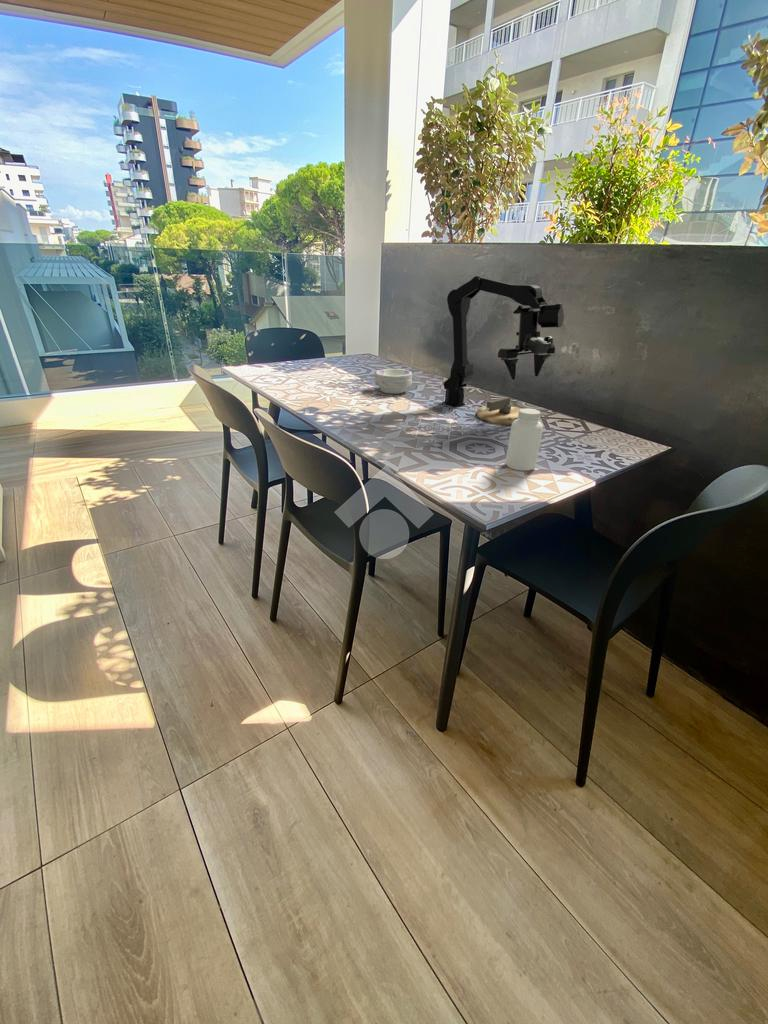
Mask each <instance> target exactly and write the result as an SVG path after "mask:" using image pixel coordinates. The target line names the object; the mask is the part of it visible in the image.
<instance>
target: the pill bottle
mask: <svg viewBox="0 0 768 1024" xmlns="http://www.w3.org/2000/svg"><path fill="white" fill-rule="evenodd" d="M540 418H541V411H540V410H538V409H534V408H521V409H520V410H519V413H518V419H517V420H515V421H514V422H513V423H512V425H510V432H509V438H508V445H507V451H506V456H505V464H506V466H507V467H508V468H510V469H512V470H515V471H524V472H525V471H526V472H528V471H529V472H530V471H533V470H534V469H535V468H536V465H537V463H538V462H537V461H538V457H539V451H540V447H541V442H542V437H543V431H544V425H543V424H542V422H541V421H540Z"/></svg>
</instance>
